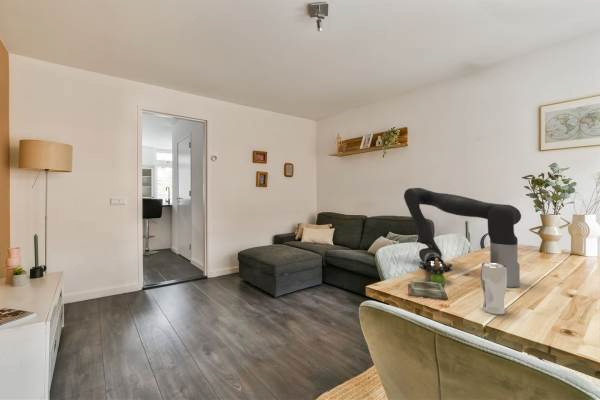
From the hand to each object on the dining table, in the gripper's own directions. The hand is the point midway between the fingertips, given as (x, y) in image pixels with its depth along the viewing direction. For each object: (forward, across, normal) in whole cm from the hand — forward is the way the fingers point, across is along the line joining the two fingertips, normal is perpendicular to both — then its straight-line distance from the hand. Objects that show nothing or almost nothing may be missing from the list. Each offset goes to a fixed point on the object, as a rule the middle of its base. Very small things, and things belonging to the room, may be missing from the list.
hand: (438, 271), depth 112 cm
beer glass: (+19, +14, +7) cm, 25 cm away
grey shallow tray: (+8, -5, +6) cm, 11 cm away
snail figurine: (-3, 0, +7) cm, 7 cm away
